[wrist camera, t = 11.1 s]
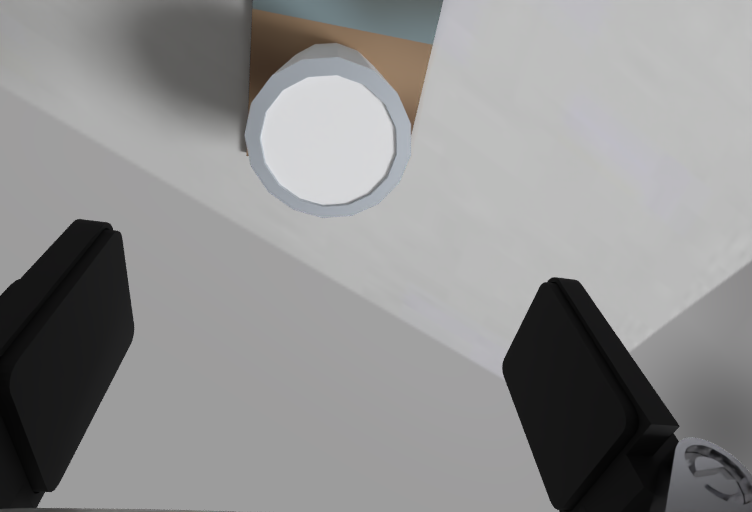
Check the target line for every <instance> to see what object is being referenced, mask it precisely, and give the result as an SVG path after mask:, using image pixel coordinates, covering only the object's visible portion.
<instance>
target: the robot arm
mask: <svg viewBox="0 0 752 512" xmlns="http://www.w3.org/2000/svg"><path fill="white" fill-rule="evenodd" d="M133 335H134V321H133V314H132V307H131V299H130V292H129V285H128V278H127V270H126V263H125V255H124V248H123V240H122V235H121V233H120V232H119V231H114V230H113V228H112V226H111V224H109V223H107V222H99V221H90V220H82V219H77V220H75V221H74V222H73V223H72V224H71V225H70V226H69V227H68V228H67V229H66V230H65V232H64V233H63V234H62V235H61V236H60V237H59V238H58V239H57V240H56V241H55V242H54V243H53V244H52V245H51V246H50V247H49V249H48V250H47V251H46V252H45V253H44V254H43V255H42V256H41V257H40V258H39V259H38V260H37V261H36V263H35V264H34V265H33V266H32V267H31V268H30V269H29V270H28V271H27V272H26V273H25V274H24V275H23V277H22V278H21V279H19V280H16V281H15V282H14V283H13V284H11V285H10V286H9V287H8V288H7V289H6V290H5V291H4V292H3V293H2V295H1V296H0V512H229V511H192V510H155V509H154V510H153V509H152V510H151V509H77V508H74V509H72V508H70V509H69V508H37V506H38V504H39V502H40V500H41V498H42V497H43V495H44V493H45V492H52V491H54V490H55V488H56V487H57V486H58V484H59V483H60V481H61V479H62V477H63V475H64V473H65V471H66V469H67V467H68V465H69V463H70V461H71V459H72V458H73V455H74V454H75V451H76V450H77V448H78V446H79V444H80V442H81V440H82V438H83V436H84V434H85V432H86V430H87V428H88V426H89V424H90V422H91V420H92V419H93V417H94V415H95V413H96V411H97V409H98V407H99V405H100V402H101V401H102V399H103V397H104V395H105V393H106V391H107V389H108V387H109V385H110V383H111V381H112V379H113V378H114V376H115V374H116V372H117V370H118V368H119V366H120V364H121V362H122V360H123V358H124V356H125V354H126V352H127V350H128V348H129V346H130V344H131V342H132V339H133ZM502 370H503V375H504V378H505V381H506V383H507V386H508V389H509V391H510V394H511V397H512V400H513V402H514V405H515V407H516V410H517V413H518V416H519V418H520V421H521V424H522V426H523V429H524V432H525V434H526V437H527V440H528V443H529V445H530V448H531V450H532V453H533V456H534V459H535V461H536V464H537V467H538V469H539V472H540V475H541V477H542V480H543V483H544V486H545V488H546V491H547V493H548V496H549V499H550V501H551V503H552V505H553V506H554V508H555V509H557V510H559V511H560V512H752V474H751V473H750V472H749V471H748V470H747V468H746V467H745V466H744V465H743V464H742V463H740V462H739V461H738V460H737V459H736V458H735V457H734V456H733V455H731V454H729V453H728V452H727V451H725V450H724V449H722V448H721V447H719V446H717V445H715V444H713V443H711V442H709V441H707V440H702V439H699V438H684V439H682V440H681V441H678V440H677V438H676V436H675V435H674V432H675V431H676V430H677V429H678V428H679V425H678V423H677V422H676V420H675V419H674V417H673V416H672V414H671V413H670V412H669V410H668V409H667V407H666V406H665V405H664V403H663V402H662V400H661V399H660V397H659V396H658V394H657V393H656V391H655V390H654V389H653V387H652V386H651V384H650V383H649V381H648V380H647V378H646V377H645V376H644V374H643V373H642V371H641V370H640V368H639V367H638V366H637V364H636V363H635V361H634V360H633V358H632V357H631V355H630V354H629V352H628V351H627V350H626V348H625V347H624V345H623V344H622V342H621V341H620V339H619V338H618V337H617V335H616V334H615V332H614V331H613V329H612V328H611V326H610V325H609V324H608V322H607V321H606V319H605V318H604V316H603V315H602V313H601V312H600V311H599V309H598V308H597V306H596V305H595V303H594V302H593V300H592V299H591V298H590V296H589V295H588V293H587V292H586V290H585V289H584V287H583V286H582V285H581V283H580V282H579V281H577V280H573V279H564V278H556V277H554V278H551V279H550V280H548V282H545V283H543V284H541V286H540V287H539V290H538V292H537V294H536V296H535V298H534V300H533V302H532V304H531V306H530V308H529V310H528V312H527V314H526V316H525V318H524V320H523V322H522V324H521V326H520V328H519V330H518V332H517V334H516V336H515V338H514V340H513V342H512V344H511V346H510V348H509V350H508V352H507V354H506V356H505V358H504V361H503V367H502ZM230 512H231V511H230ZM232 512H234V511H232Z"/></svg>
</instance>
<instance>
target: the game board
mask: <svg viewBox="0 0 752 512" xmlns="http://www.w3.org/2000/svg"><path fill="white" fill-rule="evenodd" d="M442 3H443V0H253V4H252V29H251V54H250V80H249V105H248V115H249V111H250V106H251V103H252V101H253V100H254V99H255V97H256V96H257V95H258V93H259V92H260V91H261V89H262V88H263V87H264V85H265V84H266V83H267V81H268V80H269V79H270V77H271V76H272V75H273V74H274V73H275V72H276V71H278V70H279V69H280V68H281V67H282V66H283V65H284V64H286V63H287V62H288V61H289V60H290V59H291V58H292V57H293V56H295V55H296V54H298V53H299V52H301V51H303V50H305V49H307V48H309V47H311V46H312V45H314V44H326V43H339V44H341V45H344V46H347V47H349V48H352V49H355V50H357V51H358V52H360V53H361V54H362V55H363V56H364V57H365V58H366V59H367V60H368V61H369V62H370V63H371V64H372V65H373V66H374V67H375V68H376V69H377V70H378V72H379V73H380V74H381V75H382V76H383V77H384V78H385V79H386V81H387V82H388V83H389V84H390V85H391V86H392V87H393V89H394V90H395V91H396V92H397V93H398V95H399V97H400V100H401V102H402V104H403V107H404V109H405V111H406V114H407V116H408V118H409V121H410V123H411V134H412V129H413V125H414V121H415V117H416V113H417V108H418V104H419V100H420V96H421V92H422V87H423V83H424V79H425V75H426V71H427V66H428V62H429V58H430V54H431V49H432V45H433V41H434V37H435V33H436V28H437V24H438V20H439V16H440V12H441V7H442ZM246 156H249V155H248V150H247V155H246Z"/></svg>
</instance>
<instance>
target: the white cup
mask: <svg viewBox="0 0 752 512" xmlns="http://www.w3.org/2000/svg"><path fill="white" fill-rule="evenodd" d="M244 136H245V141H246V145H247V150H248V155H249V160H250V164H251V167H252V169H253V170H254V172H255V173H256V175H257V176H258V177H259V179H260V180H261V182H262V183H263V185H264V186H265V188H266V189H267V191H268V192H269V193H270V194H272V195H273V196H275V197H276V198H277V199H279V200H280V201H282V202H283V203H285V204H286V205H287V206H289V207H290V208H292V209H293V210H296V211H300V212H303V213H307V214H310V215H314V216H318V217H321V218H327V217H340V216H352V215H355V214H357V213H359V212H361V211H363V210H366V209H368V208H370V207H372V206H374V205H377V204H379V203H380V202H381V201H382V200H383V199H384V198H385V197H386V196H387V195H388V194H389V193H390V192H391V191H392V190H393V189H394V188H395V187H396V186H397V185H398V184H399V182H400V180H401V178H402V175H403V173H404V170H405V168H406V166H407V163H408V161H409V159H410V156H411V123H410V121H409V118H408V116H407V114H406V111H405V109H404V107H403V104H402V102H401V100H400V97H399V95H398V93H397V92H396V91H395V90H394V89H393V87H392V86H391V85H390V84H389V83H388V82H387V81H386V79H385V78H384V77H383V76H382V75H381V74H380V73H379V72H378V70H377V69H376V68H375V67H374V66H373V65H372V64H371V63H370V62H369V61H368V60H367V59H366V58H365V57H364V56H363V55H362V54H361V53H360V52H358V51H357V50H355V49H352V48H349V47H347V46H344V45H341V44H339V43H326V44H314V45H312V46H311V47H309V48H307V49H305V50H303V51H301V52H299V53H298V54H296V55H295V56H293V57H292V58H291V59H290V60H289V61H288V62H287V63H286V64H284V65H283V66H282V67H281V68H280V69H279V70H278V71H276V72H275V73H274V74H273V75H272V76H271V77H270V79H269V80H268V81H267V83H266V84H265V85H264V87H263V88H262V89H261V91H260V92H259V93H258V95H257V96H256V97H255V99H254V100H253V101H252V103H251V106H250V111H249V115H248V120H247V125H246V130H245V134H244Z"/></svg>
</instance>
